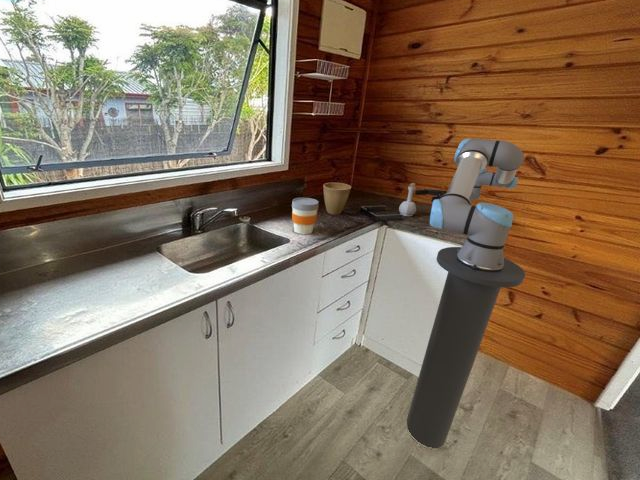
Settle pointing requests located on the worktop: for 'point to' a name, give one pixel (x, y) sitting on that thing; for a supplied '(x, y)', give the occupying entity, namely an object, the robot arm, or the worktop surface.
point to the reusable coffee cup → (304, 214)
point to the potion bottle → (408, 203)
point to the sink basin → (367, 212)
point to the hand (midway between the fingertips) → (423, 195)
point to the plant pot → (335, 197)
